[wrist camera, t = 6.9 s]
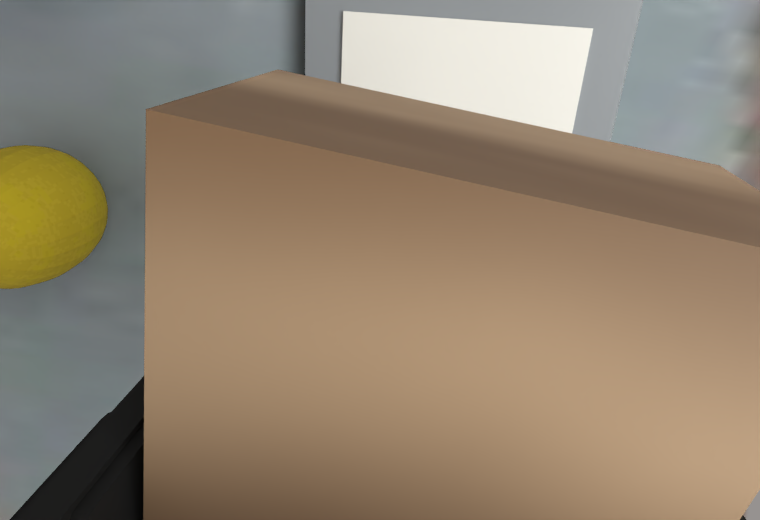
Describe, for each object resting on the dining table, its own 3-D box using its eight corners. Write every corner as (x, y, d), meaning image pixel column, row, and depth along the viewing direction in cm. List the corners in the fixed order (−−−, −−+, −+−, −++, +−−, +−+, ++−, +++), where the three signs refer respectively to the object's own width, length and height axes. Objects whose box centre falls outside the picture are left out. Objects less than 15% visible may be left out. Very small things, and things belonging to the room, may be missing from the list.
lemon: (155, 167, 26) (33, 229, 19) (121, 260, 28) (1, 347, 21) (46, 106, 25) (-123, 144, 18) (20, 205, 28) (-138, 274, 21)
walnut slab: (278, 69, 9) (146, 109, 5) (719, 165, 9) (897, 278, 5) (227, 563, 14) (141, 754, 10) (502, 639, 14) (512, 866, 10)
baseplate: (312, -65, 21) (304, -69, 20) (646, -47, 20) (656, -50, 19) (308, 359, 29) (302, 372, 28) (546, 392, 28) (549, 408, 27)
